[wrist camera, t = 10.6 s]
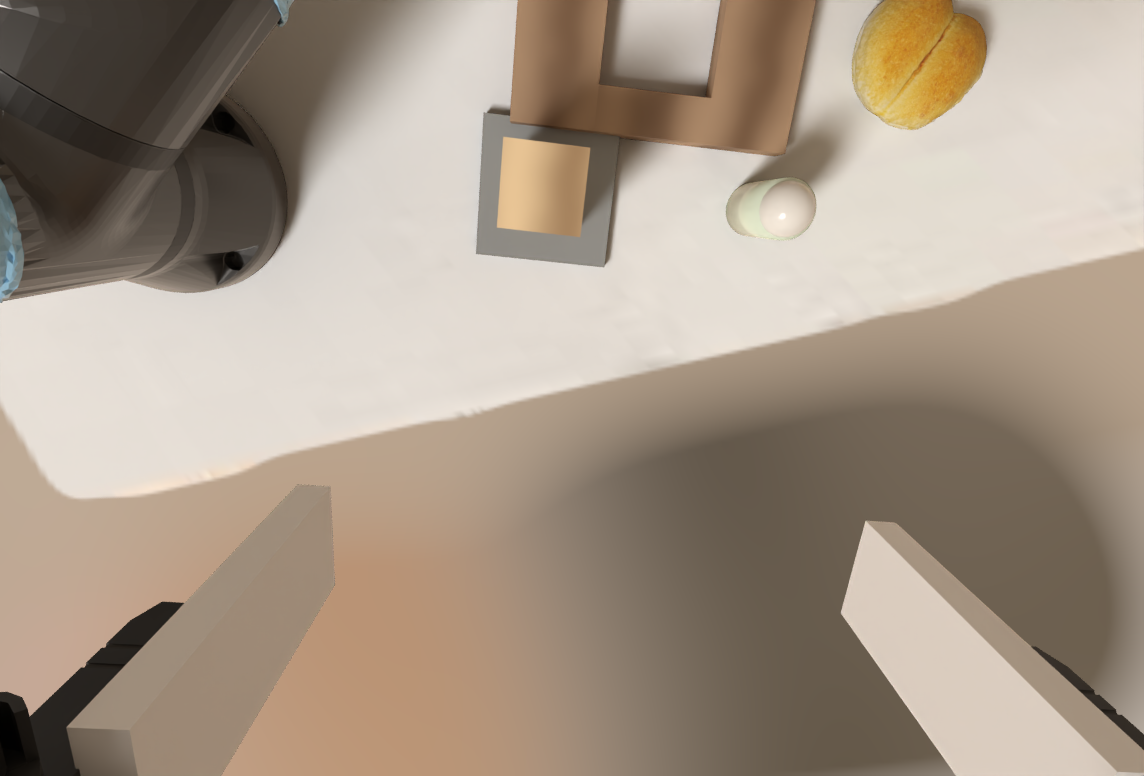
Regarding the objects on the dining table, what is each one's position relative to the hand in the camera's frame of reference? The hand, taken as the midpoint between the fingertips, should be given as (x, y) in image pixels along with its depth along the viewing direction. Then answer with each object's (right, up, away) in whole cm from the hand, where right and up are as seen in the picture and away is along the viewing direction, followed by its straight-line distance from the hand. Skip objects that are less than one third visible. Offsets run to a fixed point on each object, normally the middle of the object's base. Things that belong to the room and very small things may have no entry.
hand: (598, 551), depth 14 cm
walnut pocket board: (+6, +29, +26) cm, 40 cm away
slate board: (-3, +19, +29) cm, 35 cm away
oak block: (-3, +19, +29) cm, 34 cm away
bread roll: (+24, +28, +28) cm, 46 cm away
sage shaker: (+13, +18, +30) cm, 38 cm away
